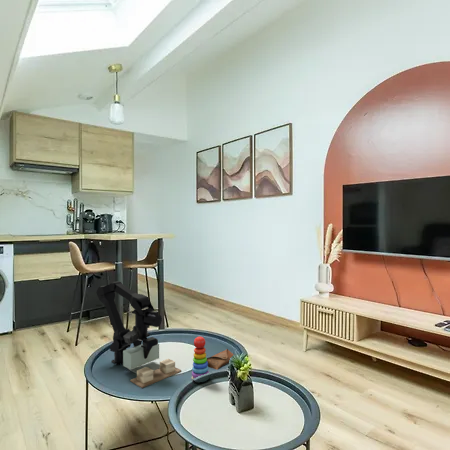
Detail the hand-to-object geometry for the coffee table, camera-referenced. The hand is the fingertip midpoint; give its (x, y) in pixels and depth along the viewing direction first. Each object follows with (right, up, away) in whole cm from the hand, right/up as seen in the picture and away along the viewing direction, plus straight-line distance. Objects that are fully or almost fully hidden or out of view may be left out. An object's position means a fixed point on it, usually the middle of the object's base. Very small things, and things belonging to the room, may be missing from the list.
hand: (141, 356), depth 156 cm
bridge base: (+9, -6, -8) cm, 13 cm away
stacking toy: (+29, -6, -12) cm, 31 cm away
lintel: (0, -3, 0) cm, 3 cm away
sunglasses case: (+38, -6, +7) cm, 39 cm away
